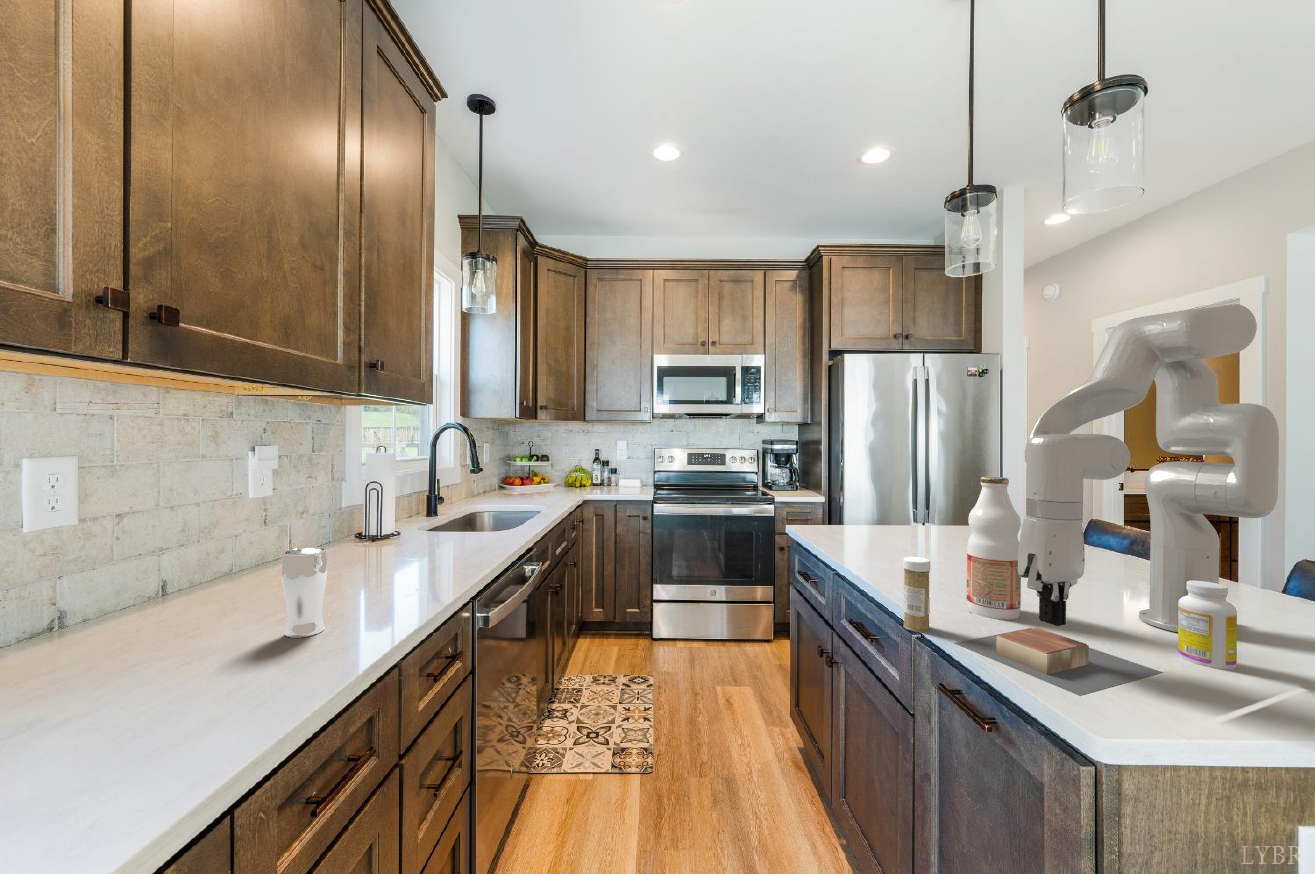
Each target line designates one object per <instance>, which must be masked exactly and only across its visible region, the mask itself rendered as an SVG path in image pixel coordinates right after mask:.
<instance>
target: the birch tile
mask: <svg viewBox="0 0 1315 874" xmlns="http://www.w3.org/2000/svg"><path fill="white" fill-rule="evenodd" d="M1027 629H1028V628H1027ZM1022 630H1023V629H1022ZM1017 631H1018V630H1017ZM1006 633H1007V632H1006ZM1001 634H1002V633H1001ZM1089 648H1090V645H1089V644H1087V643H1085V642H1081V641H1078V640H1076V639H1073V638H1069V637H1067V636H1064V635H1061V634H1057V633H1054V632H1051V631H1049V630H1046V629H1043V628H1040V627H1035V628H1034V627H1033V629H1028V630H1023V631H1018V632H1013V633H1007V634H1002V635H999V636H997V638H996V654H997V655H999V656H1002V657H1004V658H1007V659H1009V660H1012V661H1014V662H1017V663H1019V664H1022V665H1024V666H1027V667H1029V668H1031V669H1034V670H1036V671H1039V672H1041V673H1044V674H1046V675H1047V674H1051V673H1055V672H1059V671H1063V670H1067V669H1071V668H1076V667H1080V666H1084V665H1088V655H1089Z"/></svg>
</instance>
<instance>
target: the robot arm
mask: <svg viewBox="0 0 1315 874" xmlns="http://www.w3.org/2000/svg"><path fill="white" fill-rule="evenodd" d="M1257 328H1258V325H1257V320H1256V317H1255V315H1254V313H1253V312H1252V311H1251V310H1250V309H1249V308H1248V307H1247V306H1244V305H1242V304H1237V303H1231V304H1225V305H1219V306H1211V307H1200V308H1199V307H1198V308H1191V309H1190V308H1189V309H1183V310H1178V311H1171V312H1164V313H1158V314H1151V315H1146V316H1145V315H1144V316H1139V317H1134V318H1131V319H1127V320H1124V321H1123V322H1121V323H1119V324H1118V325H1117V326H1115V327H1114V328H1113V330H1112V331H1111V332H1110V335H1109V336H1108V338H1107V340H1106V342H1105V344H1104V347H1103V348H1102V350H1101V352H1100V355H1099V356H1098V359H1097V360H1096V362H1095V365H1094V367H1092V368H1093V369H1091V372H1090V374H1089V377H1088V379H1087V380H1086V381H1085V382H1084V383H1083V384H1081V385H1079V386H1078V387H1076V388H1074V389H1073V390H1071V391H1069V392H1068V393H1067V394H1065V395H1064V396H1063V397H1061V398H1059V399H1058V400H1057V401H1055V402H1054V403H1052V404H1051V405H1050V406H1048V407H1047V408H1046V410H1045V411H1043V412H1042V414H1041V415H1040V416H1039V417H1038V419H1037V421H1036V422H1035V425H1034V426H1033V429H1032V430H1031V432H1030V435H1029V437H1028V439H1027V440H1026V441H1027V442H1026V443H1025V448H1024V461H1025V464H1026V470H1025V471H1026V474H1025V475H1026V476H1025V518H1024V519H1023V522H1022V524H1021V525H1022V526H1021V529H1020V534H1019V535H1020V536H1019V554H1018V574H1019V576H1020V577H1021V578H1023V579H1027V582H1026V583H1027V584H1026V587H1027V588H1028V589H1030V590H1033V591H1036V596H1037V597H1038V603H1039V605H1038V610H1039V611H1038V619H1039V621H1041V622H1043V623H1046V624H1049V625H1053V626H1056V627H1061V626H1065V625H1066V624H1067V600H1068V599H1069V595H1070V589H1071V587H1073V586H1076V585H1077V584H1078V580H1079V579H1081V578H1082V577H1083V576H1084V574H1085V563H1086V562H1085V561H1086V557H1085V554H1086V553H1085V539H1084V538H1085V537H1084V530H1083V521H1084V480H1096V481H1104V480H1105V481H1106V480H1111V479H1115V478H1117V477H1119V476H1121V475H1122V474H1123V473H1124V472H1126V470H1127V469H1128V467H1129V466H1130V463H1131V453H1130V450H1129V448H1128V445H1126V443H1125V442H1124V441H1123V440H1121V439H1120V438H1118V437H1115V436H1114V435H1109V434H1102V433H1101V434H1099V433H1097V434H1095V433H1094V434H1093V433H1072V432H1074V431H1075V430H1076V429H1078V428H1080V427H1082V426H1083V425H1086V424H1089V423H1090V422H1093V421H1096V420H1099V419H1102V418H1105V417H1108V416H1112V415H1115V414H1117V413H1121V412H1123V411H1125V410H1128V409H1131V408H1134V407H1136V406H1138V405H1139V404H1140V403H1142V402H1143V401H1145V399H1146V397H1147V395H1148V393H1149V390H1150V388H1151V386H1152V385H1153V382H1155V388H1156V389H1155V390H1156V392H1155V394H1156V402H1155V403H1156V404H1155V405H1156V408H1155V411H1156V412H1155V435H1156V436H1155V437H1156V441H1157V445H1158V446H1159V448H1160V449H1161V450H1163V451H1165V452H1166V453H1170V454H1178V455H1188V456H1189V455H1190V456H1191V455H1193V456H1215V457H1216V456H1217V457H1218V456H1219V457H1231V458H1232V460H1233V463H1221V462H1220V463H1219V462H1218V463H1217V462H1205V461H1203V462H1202V461H1201V462H1200V461H1166V462H1161V463H1158V464H1156V465H1153V466H1152V467H1151V468H1150V469H1149V470H1148V471H1147V472H1146V474H1145V476H1144V490H1145V491H1144V492H1145V494H1146V495H1145V496H1146V499H1147V500H1146V501H1147V504H1148V509H1149V519H1150V542H1149V543H1150V545H1149V548H1150V549H1149V550H1150V551H1149V552H1150V554H1149V555H1150V556H1149V608H1147V609H1142V610H1140V611H1138V618H1139V619H1140V620H1141V621H1142V622H1143V623H1146V624H1147V625H1151V626H1153V627H1156V628H1159V629H1163V630H1166V631H1169V632H1175V633H1178V602H1179V599H1180V598H1182V597H1184V596H1188V591H1187V590H1188V589H1186V587H1187V581H1205V582H1211V583H1217V584H1220V547H1221V546H1220V537H1219V535H1218V532H1217V530H1216V529H1215V527H1214V526H1213V525H1212V524H1211V522H1210V521H1209V520H1208V519H1207V518H1206V516H1205V515H1215V516H1224V517H1225V516H1226V517H1231V518H1232V517H1233V518H1234V517H1235V518H1244V519H1261V518H1264V517H1268V516H1269V515H1270V514H1271V513H1273V511H1274V509H1275V507H1276V504H1277V500H1278V493H1279V491H1278V490H1279V455H1280V453H1279V451H1280V450H1279V449H1280V448H1279V447H1280V446H1279V445H1280V436H1279V427H1278V421H1277V419H1276V417H1275V415H1274V414H1273V412H1272V411H1271V410H1270V409H1269V408H1268V407H1266V406H1265V405H1264V406H1263V405H1261V404H1258V403H1246V402H1245V403H1220V401H1219V379H1218V376H1217V374H1216V373H1215V371H1214V370H1213V369H1212V368H1211V366H1209V364H1208V363H1206V362H1205V361H1204V359H1211V358H1218V357H1223V356H1228V355H1233V354H1236V353H1241V352H1242V351H1244V350H1245V349H1246V348H1248V347H1249V346H1250V345H1251V344H1252V342H1253V341H1254V339H1255V337H1256V334H1257ZM1202 359H1203V360H1202Z"/></svg>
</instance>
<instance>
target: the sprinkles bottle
mask: <svg viewBox="0 0 1315 874" xmlns="http://www.w3.org/2000/svg"><path fill="white" fill-rule="evenodd" d="M902 566H903V571H904V574H903V576H904V577H903V578H904V581H903V615H904V616H903V628H905V629H906V630H908V631H911V632H916V633H927V632H930V630H931V628H930V613H931V611H930V609H931V608H930V606H931V605H930V602H931V601H930V573H931V561H930V560H929V559H928V558H926V557H921V556H920V557H919V556H906V557H904V558H903V565H902Z"/></svg>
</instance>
